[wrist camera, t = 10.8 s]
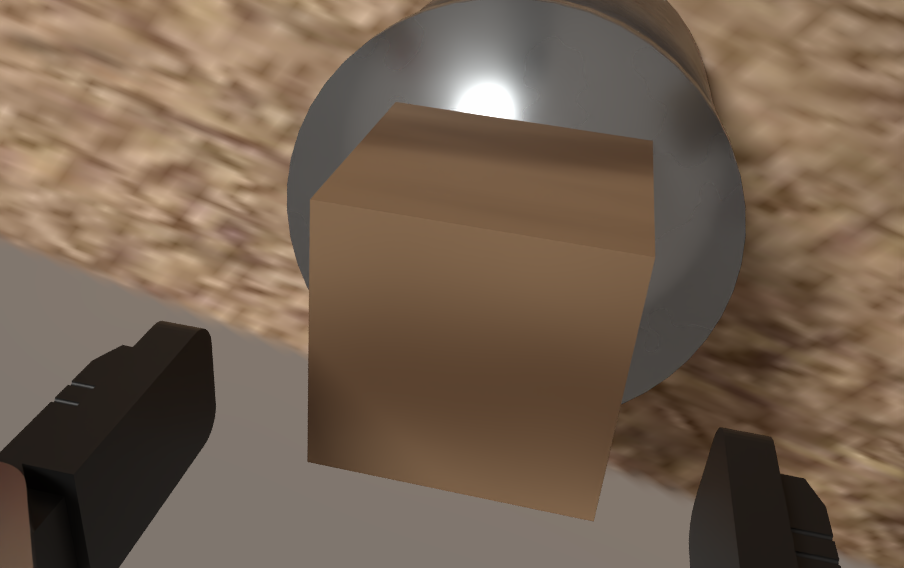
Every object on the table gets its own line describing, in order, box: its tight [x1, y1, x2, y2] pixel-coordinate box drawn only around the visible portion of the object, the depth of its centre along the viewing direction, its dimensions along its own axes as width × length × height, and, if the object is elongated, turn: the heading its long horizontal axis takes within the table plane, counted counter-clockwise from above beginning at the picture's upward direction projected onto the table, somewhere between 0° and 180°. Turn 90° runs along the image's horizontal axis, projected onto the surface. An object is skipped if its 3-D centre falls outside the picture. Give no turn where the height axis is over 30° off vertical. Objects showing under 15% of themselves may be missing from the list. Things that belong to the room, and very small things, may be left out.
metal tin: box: [287, 0, 746, 404], centre depth 23 cm, size 10×10×9 cm
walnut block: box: [308, 102, 655, 521], centre depth 17 cm, size 6×6×6 cm
